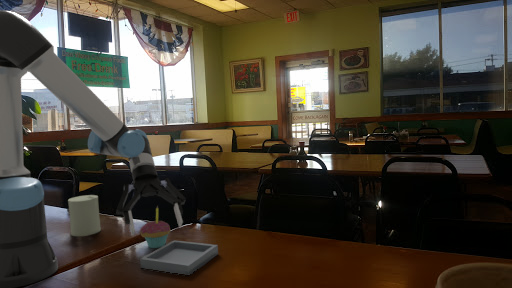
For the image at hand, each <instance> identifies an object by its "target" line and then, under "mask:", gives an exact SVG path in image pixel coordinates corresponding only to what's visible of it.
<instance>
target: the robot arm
mask: <svg viewBox="0 0 512 288" xmlns="http://www.w3.org/2000/svg"><path fill="white" fill-rule="evenodd" d="M27 73H30V74H31V76H33V77H34V78H35V79H36V80H38V81H39V82H40V83H41V84H42V85H43V86H44V87H45V88H46V89H47V90H48V91H49V92H50V93H51V94H53V95H54V96H55V97H56V98H57V99H58V100H59V101H60V102H61V103H62V104H63V105H65V107H67V108H68V109H69V110H70V112H72V113H73V114H74V115H75V116H76V117H77V118H78V119H79V120H81V121H82V123H84V124H85V126H87V128H89V129H90V130H91V131H90V133H89V135H88V139H87V148H88V151H89V152H92V153H95V154H98V155H100V154H101V155H107V156H114V157H121V158H125V159H128V163H129V167H130V172H131V176H132V180H133V184H129V183H128V182H125V183H124V185H123V191H122V194H121V197H120V200H119V202H118V204H117V207H116V211H115V213H116V215H118V216H119V215H122V216H123V218H124V223H125V225H129V230H130V234H131V236H134V235H135V234H136V233H135V232H136V229H135V223H134V219H133V214H132V209H133V208H134V206H135V205H136V204H137V202H138V200H140V199H141V197H144V198H146V197H154V196H155V195H156V196H157V197H159V198H160V197H161V198H162V199H163V200H165V201H166V202H168V203H170V204H171V205H173V210H174V211H173V212H174V214H175V218H176V221H177V224H178V227H182V225H183V223H184V220H183V218H182V216H183V214H184V213H183V212H184V209H183V207H182V206H183V205H185V202H186V199H187V198H186V197H185V196H184V195H183V194H182V193H181V192H180V191H179V190H178V188H176V187H175V186H174V184H172V183H171V180H170V179H169V177H166V178H165V179H164V180H160V179H159V176H158V173H157V168H156V165H155V161H154V157H153V153H152V149H151V146H150V140H149V138H148V136H147V133H146V132H145V131H144V130H141V129H137V128H136V129H135V130H134V129H130V128H129V127H128V126H127V125H126V124H125V123H124V122H123V121H122V120H121V119H120V118H119V117H118V116H117V115H116V114H115V113H114V112H113V111H112V110H111V108H109V107H108V106H107V105H106V104H105V102H103V101H102V100H101V99H100V98H99V97H98V96H97V95H96V94H95V93H94V92H93V91H92V90H91V88H90V87H88V86H87V85H86V83H84V81H83V80H81V79H80V77H79V76H78V75H77V74H76V73H75V72H73V70H72V69H71V68H70V67H69V66H68V65H67V64H66V63H65V62H64V61H63V60H62V58H60V57H59V56H58V55H57V54H56V53H55V48H54V45H53V44H52V42H50V41H49V39H47V38H46V37H45V36H44V35H43V34H42V33H41V32H40V30H38V29H37V28H36V26H35V25H33V24H32V23H31V22H30V21H29V20H28V19H26V18H25V17H23V16H22V15H20V14H18V13H16V12H13V11H11V10H1V9H0V288H19V287H25V286H28V285H31V284H34V283H37V282H40V281H42V280H45V279H46V278H48V277H51V276H52V275H53V274H56V272H57V271H58V269H59V265H58V264H59V262H58V258H57V255H56V253H55V252H54V249H53V248H52V246H51V244H50V242H49V238H48V231H47V229H48V228H47V220H46V208H45V207H46V206H45V190H44V188H43V184H42V182H41V181H40V180H39V179H37V178H35V177H34V178H33V177H31V171H30V170H29V169H27V168H26V166H25V165H24V136H23V107H22V106H23V105H22V104H23V103H22V100H23V99H22V78H23V77H24V76H25V75H26V74H27ZM164 188H165V189H166V190H167V191H166V190H165V189H164ZM132 190H133V191H135V193H134V194H133V196H132V197H131V198H130V200H129V201H128V202H127V204H126V205H125V203H126V201H127V199H128V196H129V193H130V192H132Z"/></svg>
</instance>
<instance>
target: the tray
mask: <svg viewBox="0 0 512 288" xmlns="http://www.w3.org/2000/svg"><path fill="white" fill-rule="evenodd" d="M217 255H219V247H218V244H211V243H201V242H195V241H194V242H193V241H192V242H191V241H184V240H176V239H175V240H171V241H170V242H168V243H165V245H164V246H162V247H159V248H156V249H155V250H154V251H152V252H150V253H148V254H146V255H145V256H143V257H141V258H140V259H139V260H140V269H141V268H146V269H153V270H159V271H165V272H164V273H166V272H170V273H169V274H172V273H178V274H177V275H179V274H185V275H190V274H191V275H192V274H194V273H195V272H196V271H198V270H199V269H200V268H202V267H203V266H205V265H206V264H207V263H208V262H210V261H212V260H213V259H214V258H215V257H216V256H217ZM146 269H145V270H146ZM197 269H198V270H197ZM153 270H152V271H153ZM159 271H158V272H159ZM194 271H195V272H194ZM193 272H194V273H193ZM185 275H184V276H185ZM191 275H190V276H191Z"/></svg>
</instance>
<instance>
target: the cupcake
mask: <svg viewBox="0 0 512 288" xmlns="http://www.w3.org/2000/svg"><path fill="white" fill-rule="evenodd" d="M158 206H159V205H157V206H156V208H155V220H154V221H153V220H152V221H149V222H147V223H145V224H144V225H142V226H141V228H140V230H139V233H140V235H141V237H142V238H144V239H145V241H146V244H147V246H148V247H149V249H150V248H151V249H159V248H161V247H163V246H164V245H166V244H167V239H168V236H169V234H170V233H171V228H170V224H169V223H167V222H165V221H164V220H159V207H158Z"/></svg>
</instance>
